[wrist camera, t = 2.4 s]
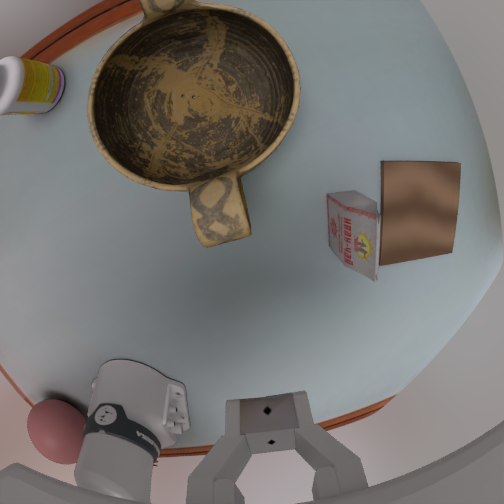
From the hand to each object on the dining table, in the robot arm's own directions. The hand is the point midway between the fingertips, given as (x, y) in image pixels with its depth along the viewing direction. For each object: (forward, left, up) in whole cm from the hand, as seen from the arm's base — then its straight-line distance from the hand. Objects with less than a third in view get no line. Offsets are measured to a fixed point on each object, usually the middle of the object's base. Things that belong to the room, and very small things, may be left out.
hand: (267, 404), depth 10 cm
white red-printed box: (-2, -12, -26) cm, 28 cm away
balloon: (-40, +45, -26) cm, 65 cm away
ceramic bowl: (+13, +3, -26) cm, 29 cm away
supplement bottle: (+21, +23, -26) cm, 40 cm away
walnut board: (-2, -25, -25) cm, 35 cm away
